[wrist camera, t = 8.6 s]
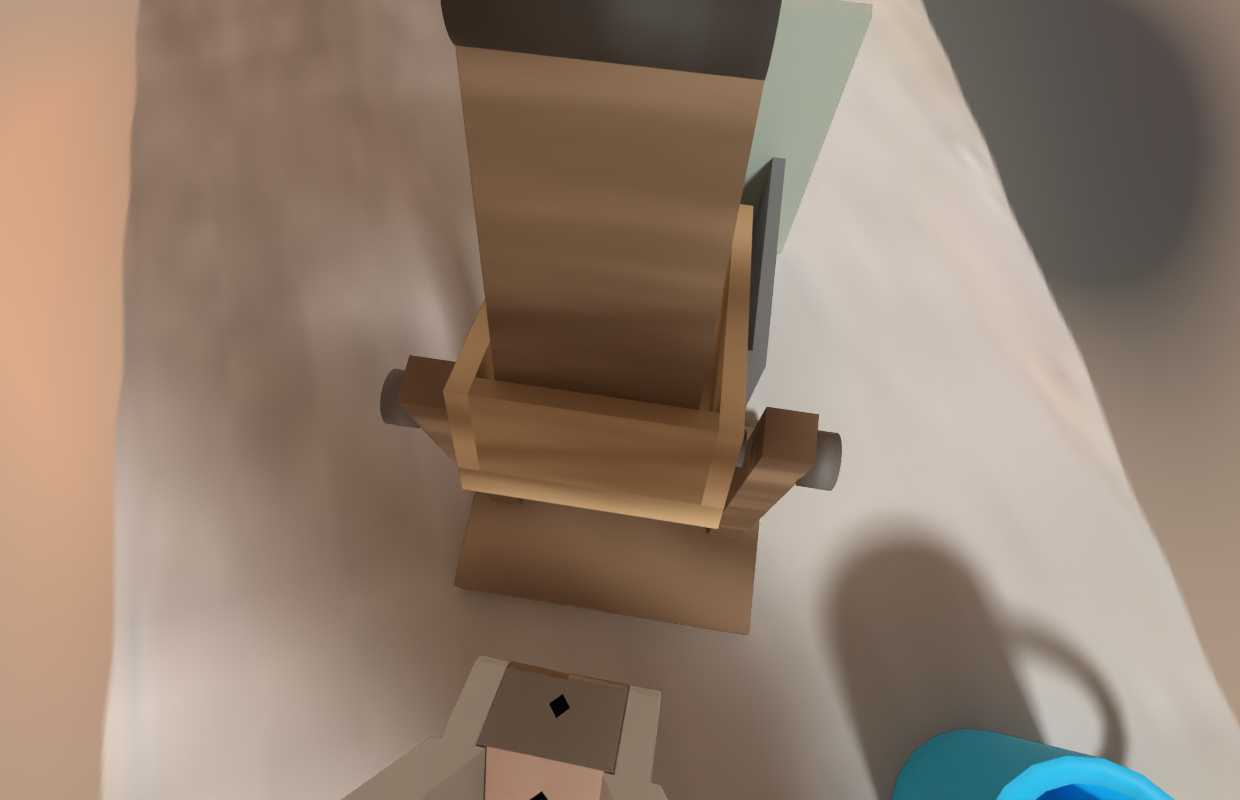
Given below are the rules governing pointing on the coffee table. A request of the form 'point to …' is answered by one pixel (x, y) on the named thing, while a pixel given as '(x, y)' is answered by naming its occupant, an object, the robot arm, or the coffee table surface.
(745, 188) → the bin
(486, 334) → the chute
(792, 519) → the coffee table surface
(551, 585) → the stand
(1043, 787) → the mug
